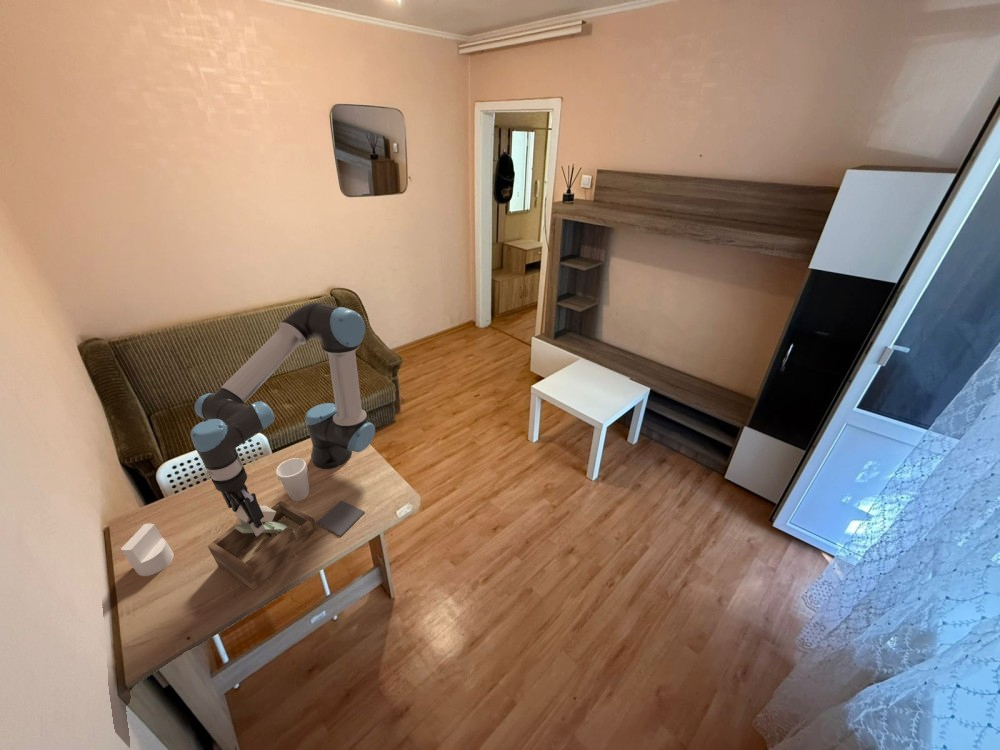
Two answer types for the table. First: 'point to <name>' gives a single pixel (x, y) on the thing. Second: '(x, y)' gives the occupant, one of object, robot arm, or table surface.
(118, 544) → the table surface
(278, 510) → the wooden box
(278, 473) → the foam cup
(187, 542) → the table surface
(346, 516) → the mat
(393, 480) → the table surface
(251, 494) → the robot arm
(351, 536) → the table surface
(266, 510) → the part
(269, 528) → the bar
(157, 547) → the base with upright slab
